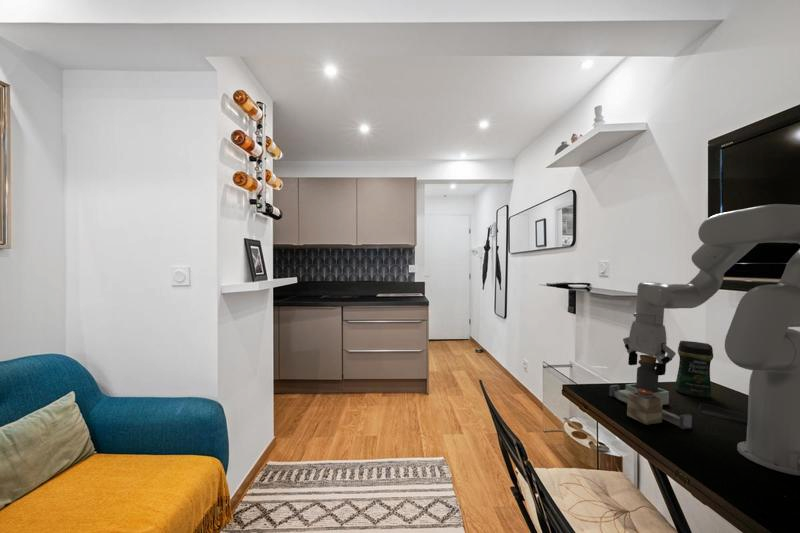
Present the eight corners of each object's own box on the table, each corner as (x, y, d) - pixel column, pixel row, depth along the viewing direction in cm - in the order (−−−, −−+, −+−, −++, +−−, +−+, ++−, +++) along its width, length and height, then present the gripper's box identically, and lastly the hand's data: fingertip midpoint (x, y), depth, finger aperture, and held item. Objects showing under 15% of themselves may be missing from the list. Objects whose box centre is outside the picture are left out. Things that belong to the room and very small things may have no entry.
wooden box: (661, 422, 100) (662, 398, 100) (645, 424, 98) (646, 400, 98) (642, 413, 106) (643, 390, 106) (626, 415, 104) (627, 392, 104)
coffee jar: (678, 394, 122) (680, 342, 121) (673, 387, 128) (675, 338, 128) (714, 400, 117) (716, 346, 116) (707, 392, 124) (709, 341, 123)
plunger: (655, 409, 101) (656, 392, 101) (645, 410, 100) (646, 393, 100) (643, 404, 104) (643, 387, 104) (633, 405, 103) (634, 388, 103)
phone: (767, 427, 97) (697, 409, 108) (767, 431, 97) (697, 412, 108) (767, 418, 102) (700, 402, 113) (766, 422, 102) (700, 405, 113)
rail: (691, 427, 97) (691, 415, 97) (683, 429, 96) (683, 416, 96) (616, 394, 120) (617, 384, 120) (609, 395, 119) (609, 385, 119)
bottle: (650, 397, 118) (652, 354, 118) (661, 405, 112) (663, 359, 112) (632, 396, 119) (633, 353, 118) (642, 404, 113) (644, 358, 112)
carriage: (668, 403, 113) (669, 391, 112) (637, 407, 109) (637, 395, 109) (644, 393, 121) (644, 382, 120) (614, 397, 117) (614, 385, 117)
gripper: (617, 314, 122) (614, 362, 123) (667, 325, 106) (663, 380, 106) (633, 314, 124) (630, 360, 125) (685, 324, 108) (681, 378, 108)
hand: (645, 369), depth 116 cm, fingers open, 9 cm apart
